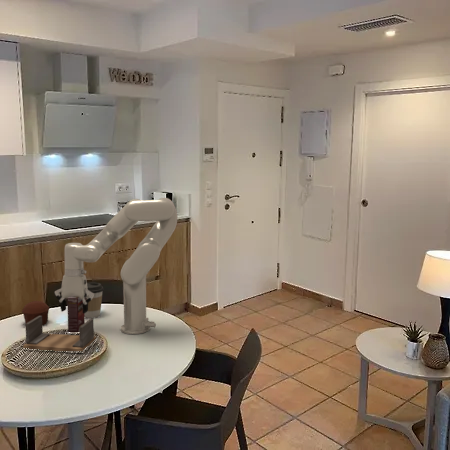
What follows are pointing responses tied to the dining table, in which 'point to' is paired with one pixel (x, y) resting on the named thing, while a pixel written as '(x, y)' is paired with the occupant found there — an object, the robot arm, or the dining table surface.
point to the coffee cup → (94, 300)
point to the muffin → (36, 311)
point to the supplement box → (75, 314)
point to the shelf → (58, 337)
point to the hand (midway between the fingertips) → (74, 311)
